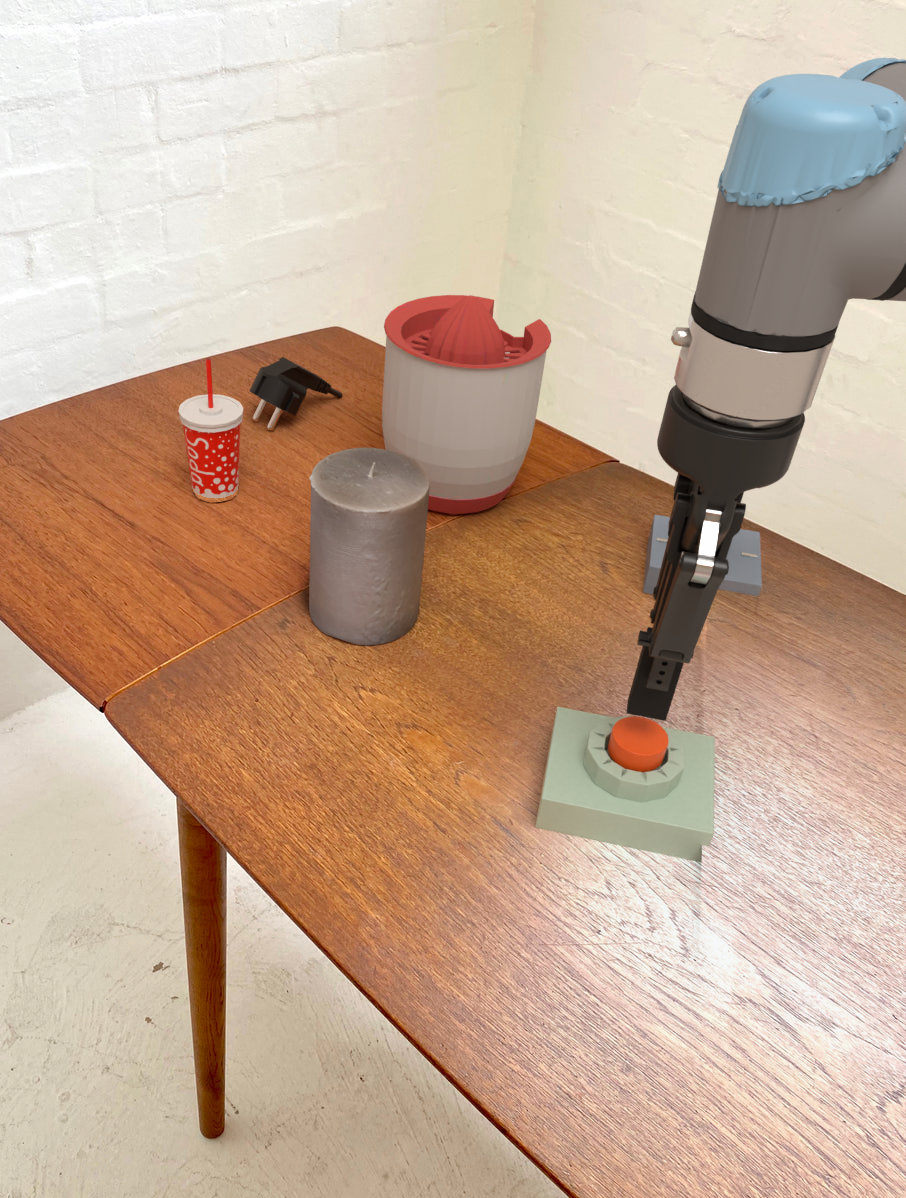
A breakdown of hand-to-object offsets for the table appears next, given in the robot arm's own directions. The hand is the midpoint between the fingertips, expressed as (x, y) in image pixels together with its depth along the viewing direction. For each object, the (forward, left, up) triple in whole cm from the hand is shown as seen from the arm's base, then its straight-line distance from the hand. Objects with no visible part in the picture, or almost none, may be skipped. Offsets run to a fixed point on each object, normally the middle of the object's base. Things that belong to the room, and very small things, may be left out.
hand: (646, 709), depth 77 cm
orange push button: (0, 0, -4) cm, 4 cm away
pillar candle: (+24, -16, -9) cm, 30 cm away
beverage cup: (+43, -31, -9) cm, 54 cm away
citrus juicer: (+20, -40, -9) cm, 46 cm away
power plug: (+39, -50, -9) cm, 64 cm away
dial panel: (-5, -31, -9) cm, 33 cm away
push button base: (0, 0, -9) cm, 9 cm away
